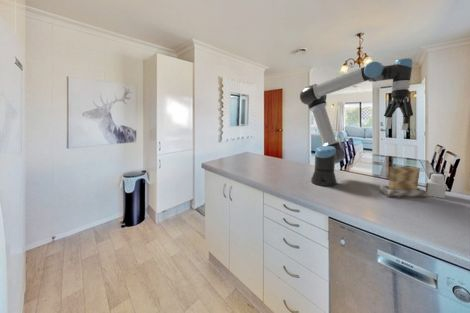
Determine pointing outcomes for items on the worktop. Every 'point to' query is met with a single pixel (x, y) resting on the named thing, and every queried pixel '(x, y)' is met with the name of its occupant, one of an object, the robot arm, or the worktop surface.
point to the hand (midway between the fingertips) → (395, 129)
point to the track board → (403, 193)
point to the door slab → (403, 178)
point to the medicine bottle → (436, 185)
